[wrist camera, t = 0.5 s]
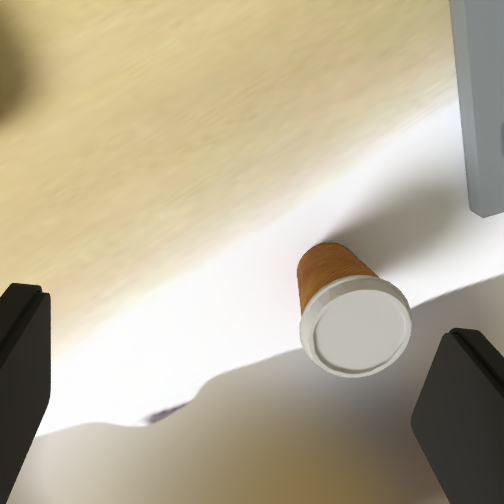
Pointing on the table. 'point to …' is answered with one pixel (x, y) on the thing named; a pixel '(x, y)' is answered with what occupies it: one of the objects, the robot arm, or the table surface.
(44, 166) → the table surface
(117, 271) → the table surface
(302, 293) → the disposable coffee cup
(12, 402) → the robot arm
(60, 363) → the table surface
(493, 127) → the hole board
